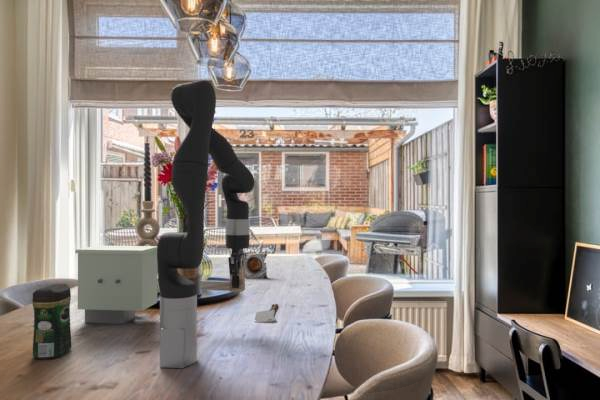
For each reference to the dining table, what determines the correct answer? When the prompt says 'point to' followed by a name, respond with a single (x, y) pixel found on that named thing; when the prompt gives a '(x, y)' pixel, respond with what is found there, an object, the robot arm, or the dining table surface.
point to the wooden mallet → (226, 283)
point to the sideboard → (116, 282)
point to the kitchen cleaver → (266, 315)
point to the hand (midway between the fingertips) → (237, 286)
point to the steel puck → (141, 319)
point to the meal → (255, 266)
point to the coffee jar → (51, 321)
